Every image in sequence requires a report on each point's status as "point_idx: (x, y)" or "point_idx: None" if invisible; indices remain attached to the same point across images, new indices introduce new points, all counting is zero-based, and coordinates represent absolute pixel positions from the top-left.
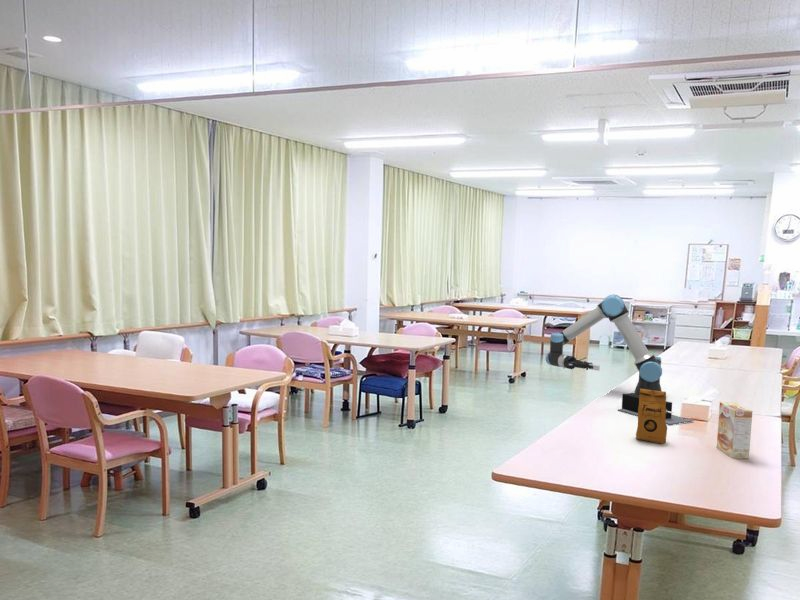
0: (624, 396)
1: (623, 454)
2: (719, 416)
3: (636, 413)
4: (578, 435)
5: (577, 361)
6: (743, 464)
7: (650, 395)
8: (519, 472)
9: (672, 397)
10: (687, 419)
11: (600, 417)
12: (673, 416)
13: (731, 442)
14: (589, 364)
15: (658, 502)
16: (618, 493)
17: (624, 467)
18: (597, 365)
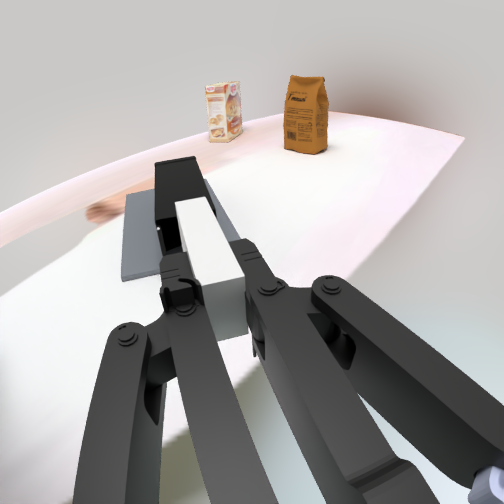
0: (214, 211)
1: (363, 136)
2: (226, 102)
3: (218, 220)
4: (408, 161)
5: (418, 493)
6: (246, 128)
7: (308, 84)
8: (451, 135)
9: None
10: (132, 197)
11: (343, 209)
12: (138, 209)
13: (240, 117)
14: (240, 272)
15: (364, 115)
16: (386, 119)
17: (371, 128)
18: (195, 205)
